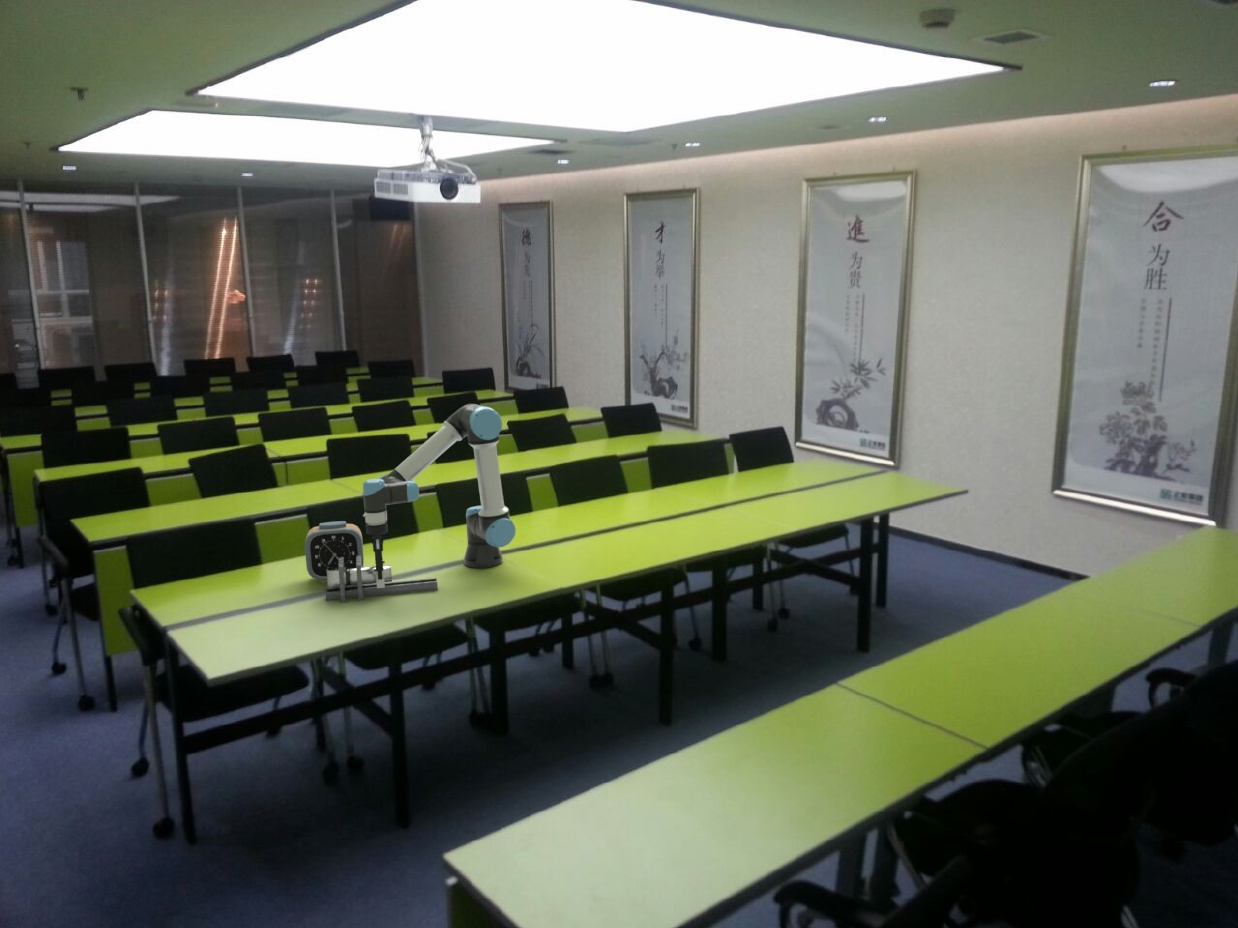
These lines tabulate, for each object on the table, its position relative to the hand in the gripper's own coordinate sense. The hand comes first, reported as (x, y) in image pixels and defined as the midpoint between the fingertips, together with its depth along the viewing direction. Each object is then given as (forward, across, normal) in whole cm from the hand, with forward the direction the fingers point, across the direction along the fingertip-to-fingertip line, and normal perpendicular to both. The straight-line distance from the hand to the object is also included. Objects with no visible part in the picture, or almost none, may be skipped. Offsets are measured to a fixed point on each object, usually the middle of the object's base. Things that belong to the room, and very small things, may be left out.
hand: (380, 584), depth 337 cm
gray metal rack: (+3, 0, 0) cm, 3 cm away
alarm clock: (+3, -23, -16) cm, 28 cm away
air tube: (-1, 0, -7) cm, 7 cm away
